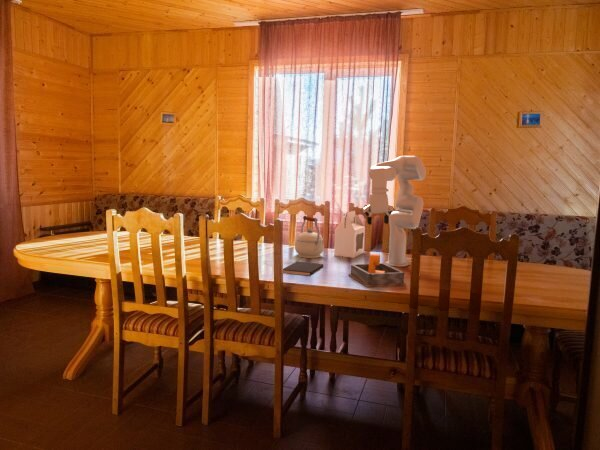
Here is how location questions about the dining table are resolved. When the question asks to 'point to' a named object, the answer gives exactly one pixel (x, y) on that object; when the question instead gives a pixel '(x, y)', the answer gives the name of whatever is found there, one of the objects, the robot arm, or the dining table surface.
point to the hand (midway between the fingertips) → (377, 223)
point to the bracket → (374, 263)
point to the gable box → (349, 236)
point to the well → (377, 275)
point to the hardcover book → (303, 268)
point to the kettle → (309, 241)
